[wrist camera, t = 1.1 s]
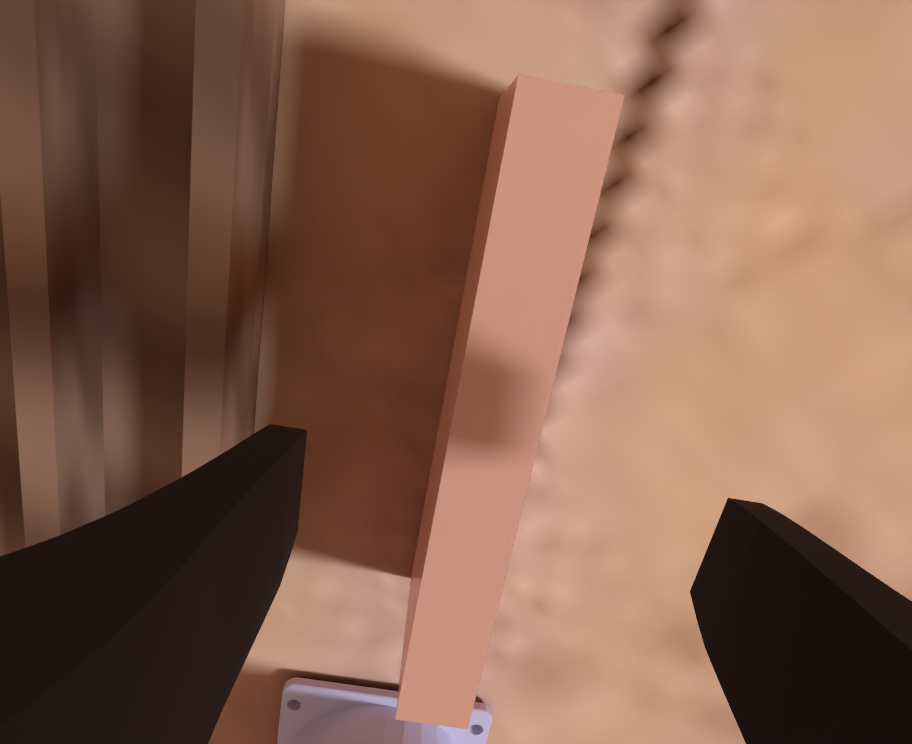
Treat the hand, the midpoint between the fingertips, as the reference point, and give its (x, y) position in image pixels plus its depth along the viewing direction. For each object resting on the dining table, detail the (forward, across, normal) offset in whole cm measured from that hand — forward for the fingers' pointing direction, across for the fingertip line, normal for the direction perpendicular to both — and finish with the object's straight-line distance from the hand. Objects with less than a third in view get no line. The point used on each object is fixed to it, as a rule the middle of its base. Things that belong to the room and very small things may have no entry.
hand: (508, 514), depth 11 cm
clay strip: (+9, 0, +1) cm, 10 cm away
